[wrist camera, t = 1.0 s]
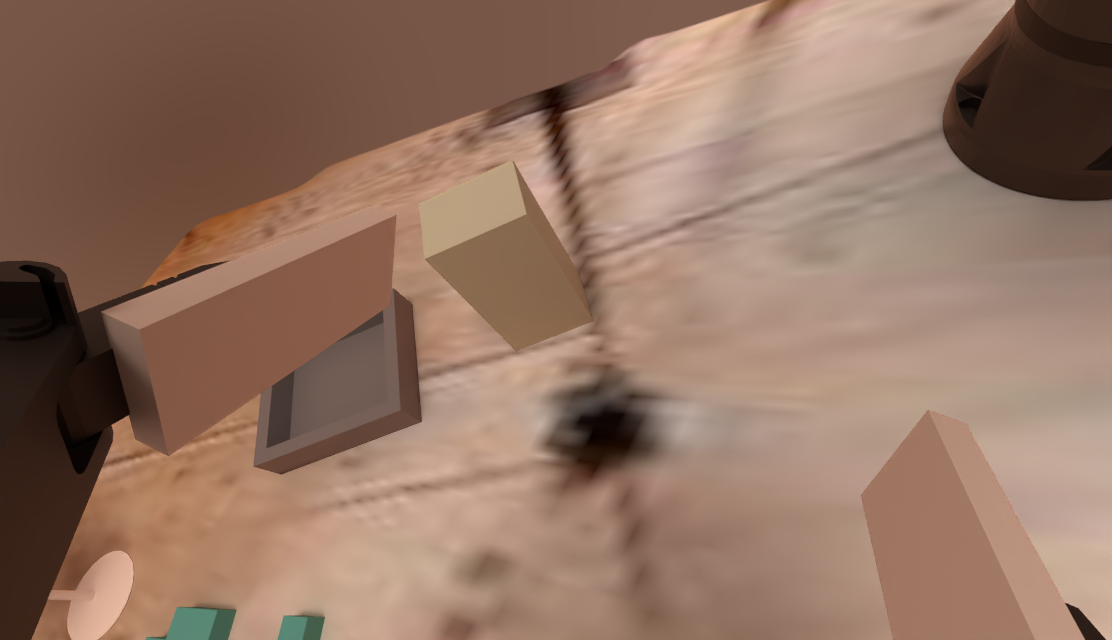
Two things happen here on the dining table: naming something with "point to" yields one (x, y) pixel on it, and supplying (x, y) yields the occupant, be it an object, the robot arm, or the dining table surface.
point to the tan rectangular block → (504, 257)
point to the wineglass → (98, 596)
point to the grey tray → (343, 394)
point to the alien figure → (206, 630)
